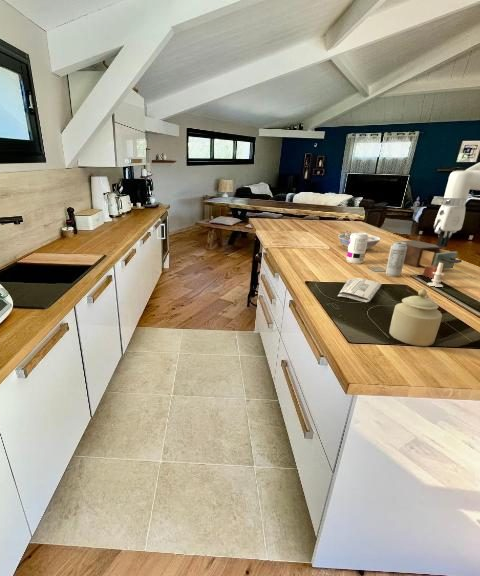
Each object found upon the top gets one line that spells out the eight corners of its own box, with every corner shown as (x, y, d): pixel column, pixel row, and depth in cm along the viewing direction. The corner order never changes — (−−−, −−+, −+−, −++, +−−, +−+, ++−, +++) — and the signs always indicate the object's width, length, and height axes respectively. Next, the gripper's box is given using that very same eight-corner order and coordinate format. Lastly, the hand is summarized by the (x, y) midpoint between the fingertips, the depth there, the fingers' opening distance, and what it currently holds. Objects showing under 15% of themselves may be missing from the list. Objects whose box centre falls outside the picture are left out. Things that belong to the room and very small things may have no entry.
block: (430, 275, 142) (433, 265, 140) (440, 278, 138) (443, 268, 136) (422, 275, 141) (425, 266, 139) (432, 279, 137) (435, 269, 135)
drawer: (463, 271, 144) (468, 254, 141) (443, 273, 141) (448, 256, 138) (426, 260, 160) (430, 245, 157) (408, 262, 157) (412, 247, 155)
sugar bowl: (380, 320, 101) (390, 276, 95) (420, 324, 98) (432, 279, 92) (395, 343, 87) (408, 293, 82) (441, 349, 84) (457, 297, 79)
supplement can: (343, 262, 163) (347, 233, 158) (349, 259, 168) (354, 231, 163) (359, 265, 158) (364, 235, 152) (365, 262, 163) (371, 233, 157)
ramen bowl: (377, 256, 173) (379, 241, 170) (332, 251, 184) (334, 237, 182) (379, 247, 193) (381, 233, 190) (339, 243, 204) (341, 230, 201)
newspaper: (349, 280, 137) (350, 275, 136) (380, 288, 130) (382, 283, 129) (333, 295, 120) (335, 289, 119) (367, 306, 113) (369, 299, 112)
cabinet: (436, 265, 156) (441, 246, 153) (415, 267, 153) (420, 248, 150) (410, 257, 169) (414, 240, 166) (391, 259, 166) (395, 241, 163)
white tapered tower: (434, 283, 132) (440, 259, 128) (446, 287, 127) (453, 262, 123) (424, 284, 131) (430, 260, 127) (435, 288, 126) (442, 263, 122)
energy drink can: (402, 275, 142) (409, 242, 137) (398, 278, 138) (406, 244, 133) (387, 272, 146) (394, 240, 141) (383, 275, 142) (390, 242, 137)
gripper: (448, 204, 124) (435, 249, 130) (477, 203, 127) (463, 247, 134) (430, 202, 131) (419, 245, 137) (458, 201, 134) (446, 243, 140)
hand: (441, 246), depth 135 cm, fingers closed
